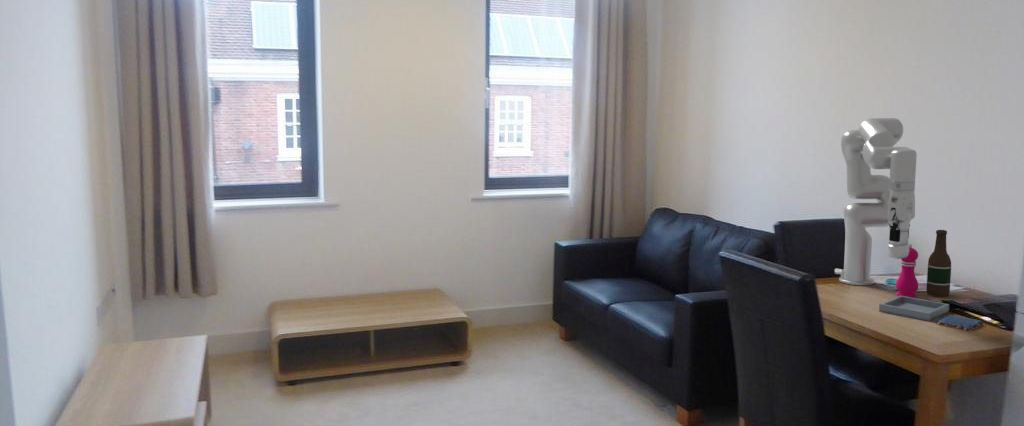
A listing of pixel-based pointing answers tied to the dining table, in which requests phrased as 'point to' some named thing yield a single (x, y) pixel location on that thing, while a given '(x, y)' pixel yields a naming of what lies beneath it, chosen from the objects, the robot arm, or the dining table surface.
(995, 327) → the dining table surface
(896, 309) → the tray
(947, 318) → the woven mat
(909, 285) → the pepper mill
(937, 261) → the beer bottle
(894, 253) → the plastic bottle
